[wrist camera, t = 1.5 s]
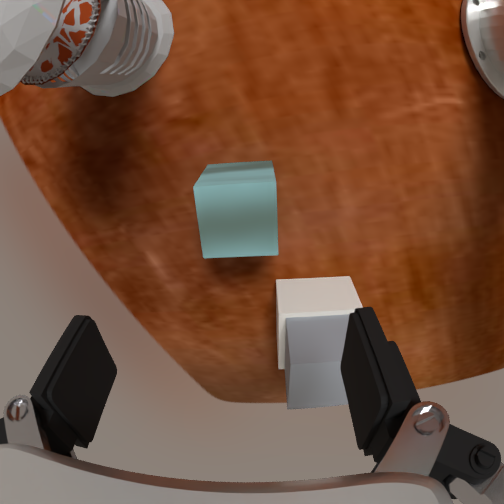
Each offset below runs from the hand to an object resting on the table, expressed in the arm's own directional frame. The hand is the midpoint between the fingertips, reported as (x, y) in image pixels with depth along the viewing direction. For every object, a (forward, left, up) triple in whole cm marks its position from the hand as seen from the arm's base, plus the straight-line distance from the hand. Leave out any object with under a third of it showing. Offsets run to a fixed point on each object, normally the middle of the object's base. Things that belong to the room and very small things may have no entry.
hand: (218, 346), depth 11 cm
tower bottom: (+12, +6, -17) cm, 21 cm away
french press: (-15, -9, -17) cm, 24 cm away
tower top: (+12, +6, -12) cm, 18 cm away
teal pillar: (0, 0, -16) cm, 16 cm away
